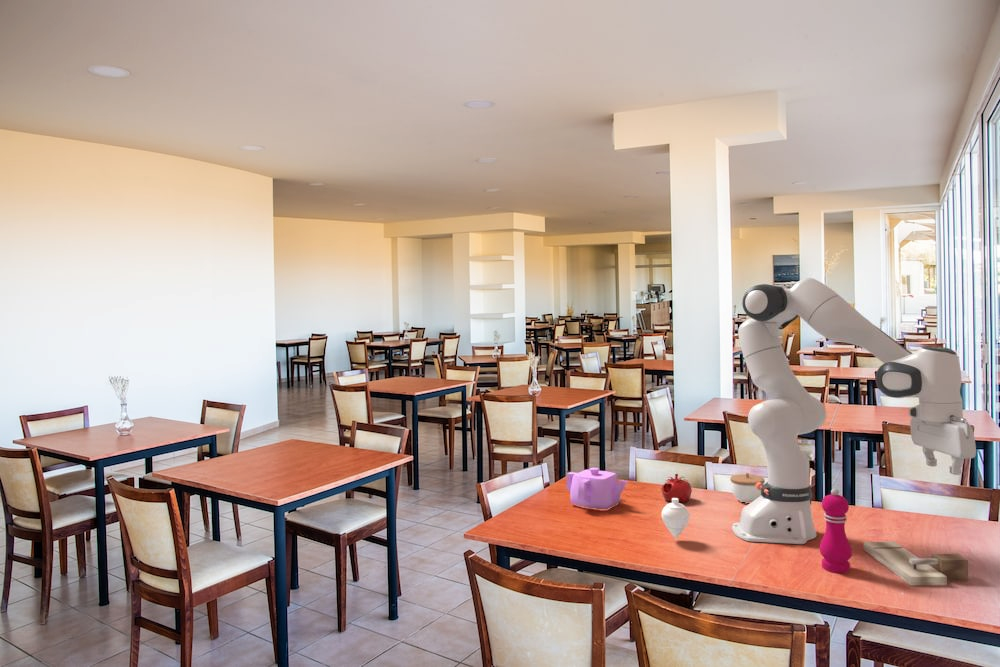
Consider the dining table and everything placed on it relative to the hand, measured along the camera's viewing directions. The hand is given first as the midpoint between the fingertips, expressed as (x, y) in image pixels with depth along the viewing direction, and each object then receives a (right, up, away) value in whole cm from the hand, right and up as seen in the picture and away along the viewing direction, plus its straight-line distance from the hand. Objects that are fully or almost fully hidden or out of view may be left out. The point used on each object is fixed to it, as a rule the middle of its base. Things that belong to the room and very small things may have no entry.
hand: (943, 470), depth 164 cm
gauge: (-4, -25, -3) cm, 25 cm away
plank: (-8, -25, +4) cm, 26 cm away
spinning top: (-58, -26, +27) cm, 69 cm away
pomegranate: (-48, -24, +65) cm, 84 cm away
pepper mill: (-24, -25, +4) cm, 35 cm away
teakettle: (-75, -25, +64) cm, 101 cm away
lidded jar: (-25, -23, +62) cm, 71 cm away
